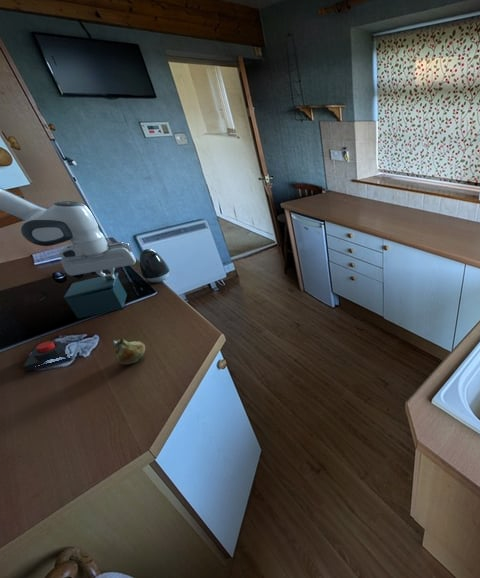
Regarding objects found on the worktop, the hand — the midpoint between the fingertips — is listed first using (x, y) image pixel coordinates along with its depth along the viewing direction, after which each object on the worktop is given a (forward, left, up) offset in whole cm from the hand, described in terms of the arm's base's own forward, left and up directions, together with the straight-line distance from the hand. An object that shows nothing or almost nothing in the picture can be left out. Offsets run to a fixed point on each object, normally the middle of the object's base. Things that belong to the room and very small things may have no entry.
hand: (110, 279), depth 114 cm
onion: (+8, -43, -11) cm, 45 cm away
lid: (-6, 0, -1) cm, 6 cm away
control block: (-14, -29, -11) cm, 34 cm away
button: (-14, -29, -7) cm, 33 cm away
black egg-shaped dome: (+12, +14, -11) cm, 22 cm away
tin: (-6, 0, -11) cm, 12 cm away
